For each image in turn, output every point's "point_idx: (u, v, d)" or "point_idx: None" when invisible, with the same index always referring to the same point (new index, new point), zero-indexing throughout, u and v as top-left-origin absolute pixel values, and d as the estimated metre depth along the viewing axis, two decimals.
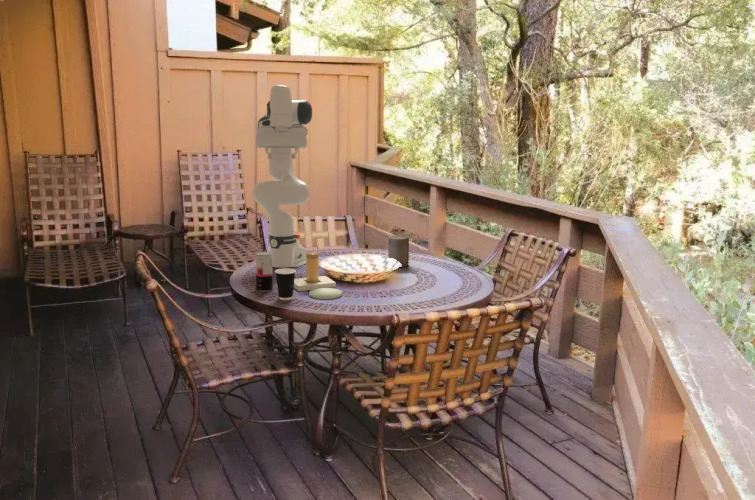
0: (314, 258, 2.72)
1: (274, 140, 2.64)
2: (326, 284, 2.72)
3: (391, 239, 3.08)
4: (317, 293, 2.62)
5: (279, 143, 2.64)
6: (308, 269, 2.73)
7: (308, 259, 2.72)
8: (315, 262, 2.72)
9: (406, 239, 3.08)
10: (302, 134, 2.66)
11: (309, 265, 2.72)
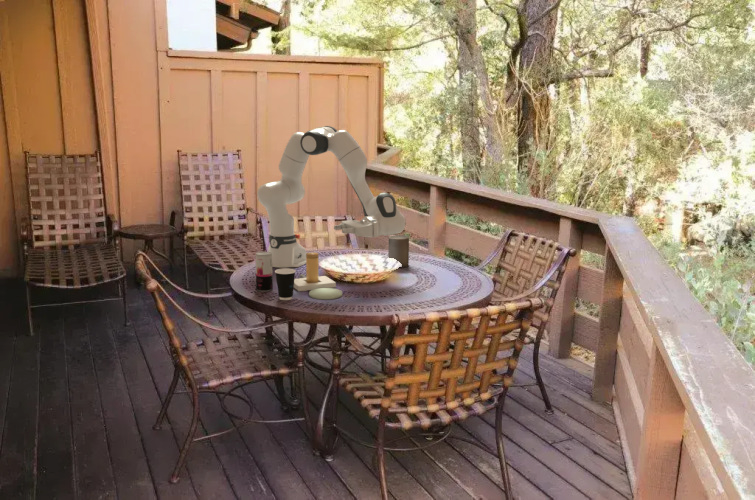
0: (314, 258, 2.72)
1: None
2: (326, 284, 2.72)
3: (391, 239, 3.08)
4: (317, 293, 2.62)
5: None
6: (308, 269, 2.73)
7: (308, 259, 2.72)
8: (315, 262, 2.72)
9: (406, 239, 3.08)
10: None
11: (309, 265, 2.72)
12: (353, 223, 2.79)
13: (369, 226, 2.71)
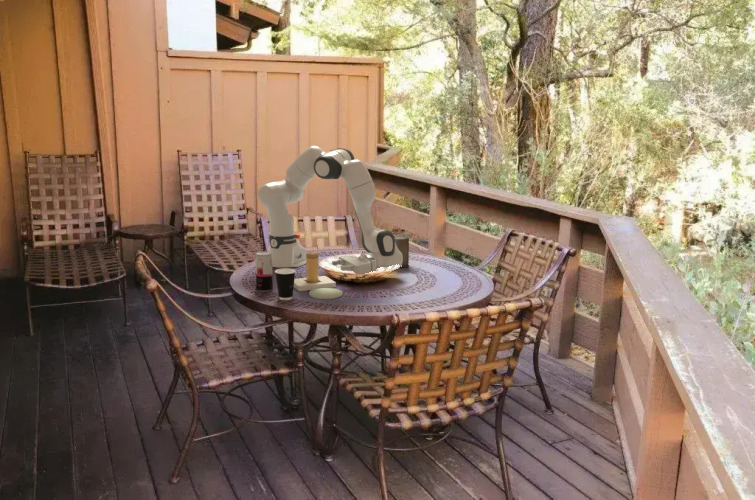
0: (314, 258, 2.72)
1: None
2: (326, 284, 2.72)
3: None
4: (317, 293, 2.62)
5: None
6: (308, 269, 2.73)
7: (308, 259, 2.72)
8: (315, 262, 2.72)
9: (406, 239, 3.08)
10: None
11: (309, 265, 2.72)
12: (351, 259, 2.83)
13: (368, 264, 2.75)
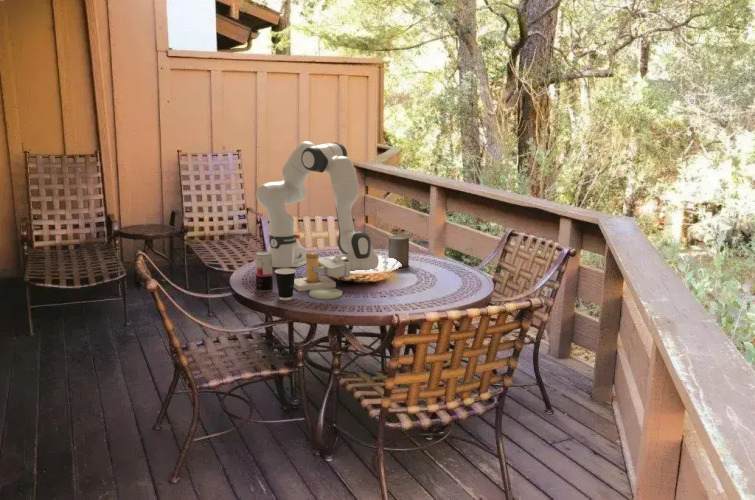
0: (314, 258, 2.72)
1: None
2: (326, 284, 2.72)
3: (391, 239, 3.08)
4: (317, 293, 2.62)
5: None
6: (308, 269, 2.73)
7: (308, 259, 2.72)
8: (315, 262, 2.72)
9: (406, 239, 3.08)
10: None
11: (309, 265, 2.72)
12: (325, 262, 2.78)
13: (341, 266, 2.70)
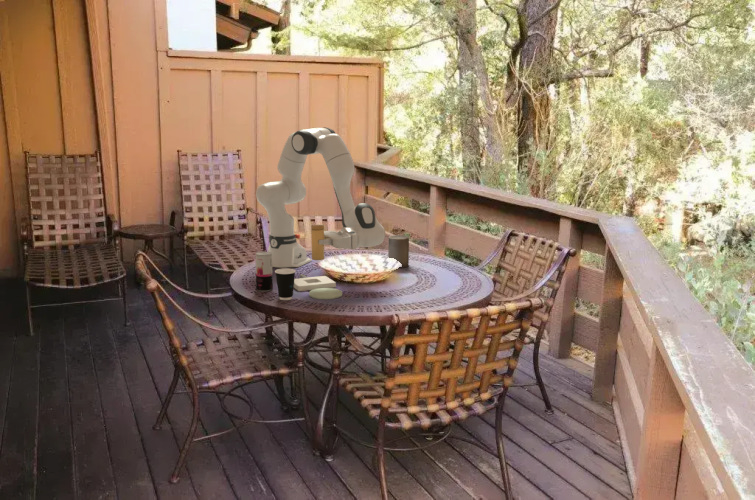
0: (320, 230, 2.64)
1: None
2: (326, 284, 2.72)
3: (391, 239, 3.08)
4: (317, 293, 2.62)
5: None
6: (313, 242, 2.66)
7: (313, 231, 2.65)
8: (321, 234, 2.65)
9: (406, 239, 3.08)
10: None
11: (314, 237, 2.65)
12: (331, 234, 2.70)
13: (347, 238, 2.62)
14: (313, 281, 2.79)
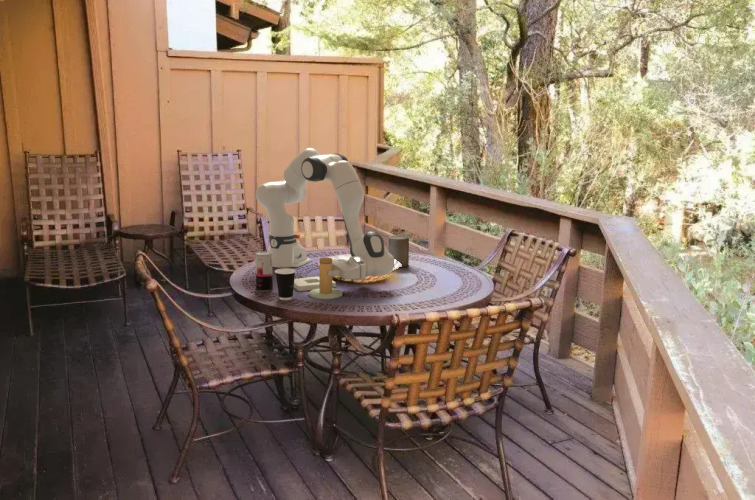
0: (328, 263, 2.58)
1: None
2: None
3: (391, 239, 3.08)
4: (317, 293, 2.62)
5: None
6: (321, 275, 2.60)
7: (321, 264, 2.59)
8: (329, 268, 2.59)
9: (406, 239, 3.08)
10: None
11: (322, 271, 2.59)
12: (339, 263, 2.64)
13: (356, 269, 2.56)
14: (313, 281, 2.79)
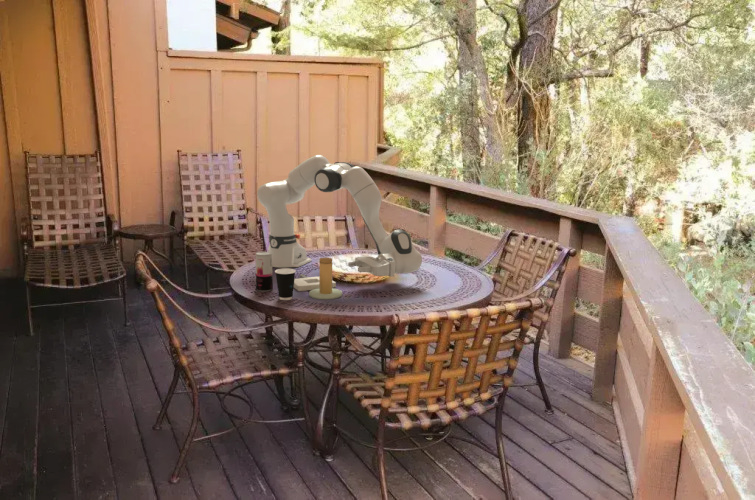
0: (328, 263, 2.58)
1: None
2: None
3: None
4: (317, 293, 2.62)
5: None
6: (321, 275, 2.60)
7: (321, 264, 2.59)
8: (329, 268, 2.59)
9: None
10: None
11: (322, 271, 2.59)
12: (368, 260, 2.69)
13: (386, 265, 2.61)
14: (313, 281, 2.79)
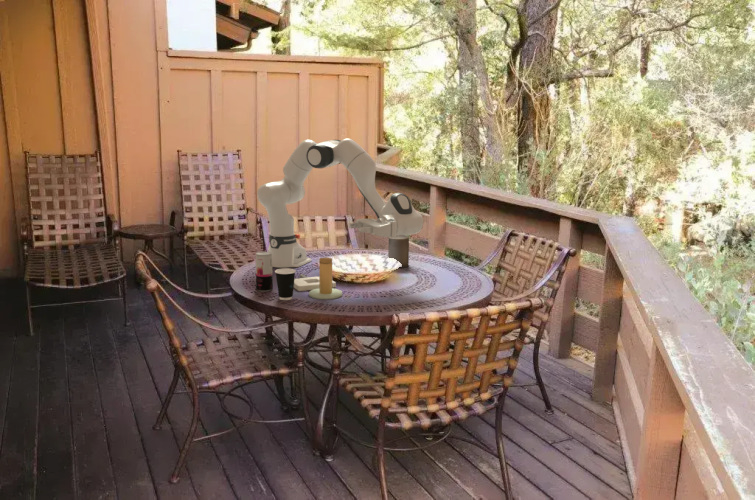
0: (328, 263, 2.58)
1: None
2: None
3: (391, 239, 3.08)
4: (317, 293, 2.62)
5: None
6: (321, 275, 2.60)
7: (321, 264, 2.59)
8: (329, 268, 2.59)
9: (406, 239, 3.08)
10: None
11: (322, 271, 2.59)
12: (370, 222, 2.66)
13: (388, 225, 2.58)
14: (313, 281, 2.79)
